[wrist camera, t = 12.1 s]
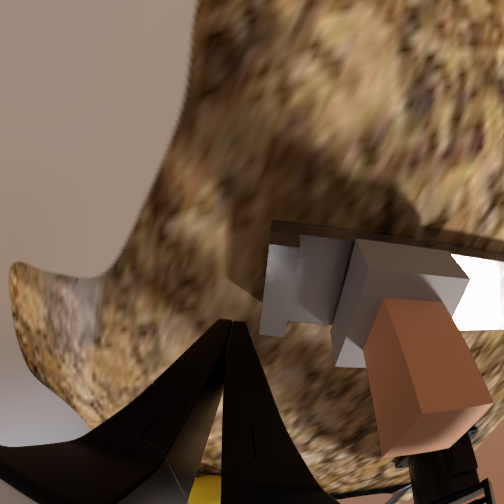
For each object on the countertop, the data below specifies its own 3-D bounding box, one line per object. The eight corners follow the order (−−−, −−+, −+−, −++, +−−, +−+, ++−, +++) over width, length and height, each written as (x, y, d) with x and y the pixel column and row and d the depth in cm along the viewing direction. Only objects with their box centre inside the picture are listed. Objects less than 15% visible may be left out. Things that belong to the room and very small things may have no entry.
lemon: (185, 468, 27) (168, 506, 22) (209, 459, 25) (192, 504, 20) (236, 492, 28) (224, 529, 23) (264, 485, 25) (254, 527, 20)
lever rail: (520, 318, 13) (535, 339, 11) (262, 303, 14) (258, 334, 12) (548, 261, 11) (567, 280, 9) (271, 220, 12) (269, 244, 10)
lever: (411, 335, 12) (451, 457, 7) (330, 331, 13) (344, 471, 7) (448, 250, 10) (532, 373, 5) (355, 238, 10) (411, 388, 5)
